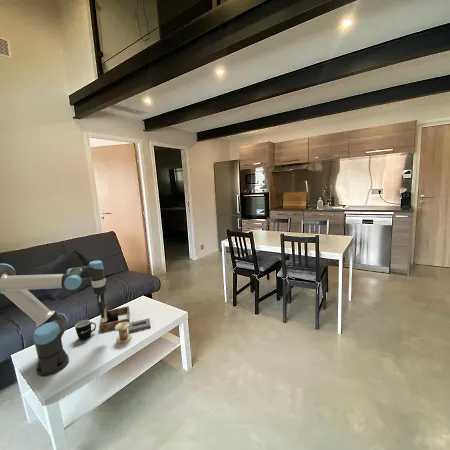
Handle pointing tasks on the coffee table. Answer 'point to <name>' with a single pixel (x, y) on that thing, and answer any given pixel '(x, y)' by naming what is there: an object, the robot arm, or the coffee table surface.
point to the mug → (84, 329)
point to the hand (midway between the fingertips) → (104, 320)
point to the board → (139, 325)
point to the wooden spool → (123, 332)
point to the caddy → (112, 324)
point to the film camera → (111, 317)
